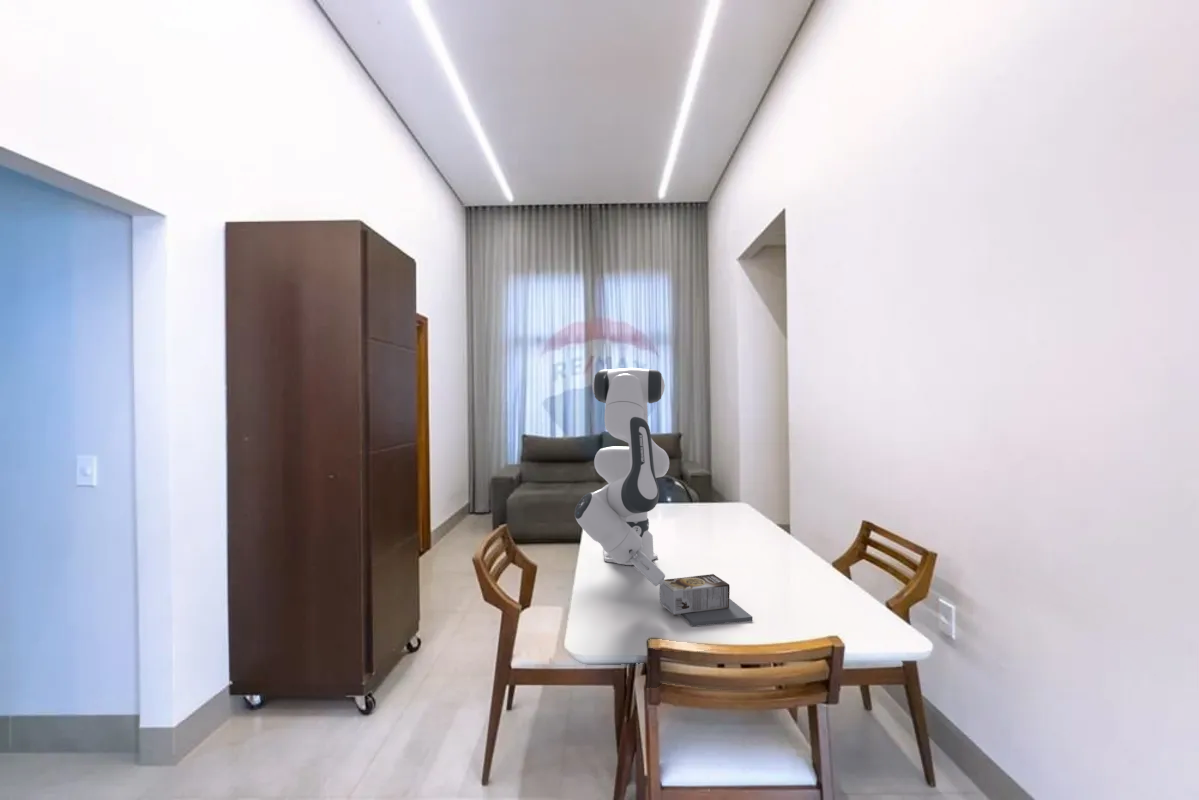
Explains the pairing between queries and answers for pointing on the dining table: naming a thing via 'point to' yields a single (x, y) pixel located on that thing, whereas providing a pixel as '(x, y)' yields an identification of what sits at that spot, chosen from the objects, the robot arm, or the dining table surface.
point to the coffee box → (694, 594)
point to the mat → (718, 616)
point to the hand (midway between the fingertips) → (661, 581)
